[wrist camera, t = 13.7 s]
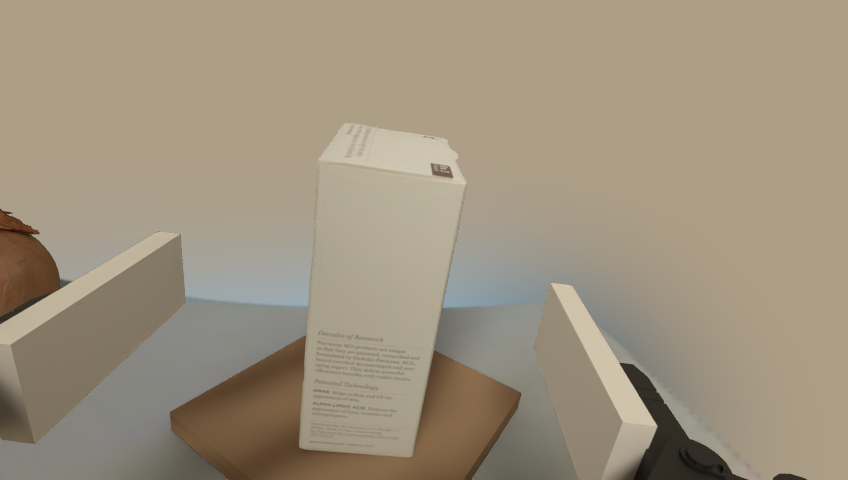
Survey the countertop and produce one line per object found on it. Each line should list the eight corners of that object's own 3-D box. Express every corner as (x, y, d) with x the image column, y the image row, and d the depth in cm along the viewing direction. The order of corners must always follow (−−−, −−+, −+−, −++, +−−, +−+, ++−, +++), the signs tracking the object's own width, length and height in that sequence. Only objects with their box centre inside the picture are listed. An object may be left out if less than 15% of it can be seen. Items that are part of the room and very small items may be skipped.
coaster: (171, 430, 23) (169, 412, 23) (349, 323, 35) (350, 309, 34) (385, 611, 17) (388, 591, 16) (517, 408, 28) (521, 393, 28)
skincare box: (323, 353, 29) (337, 119, 24) (416, 360, 30) (449, 134, 24) (295, 460, 21) (306, 149, 16) (421, 467, 22) (473, 169, 16)
